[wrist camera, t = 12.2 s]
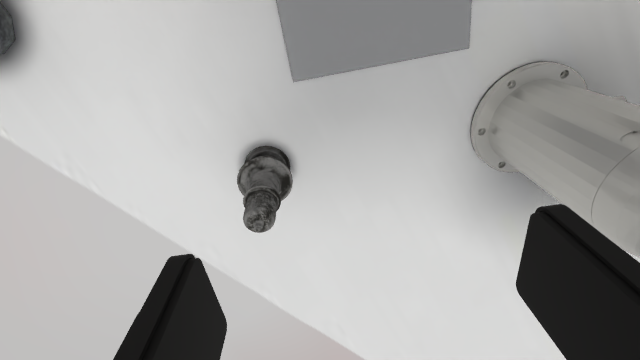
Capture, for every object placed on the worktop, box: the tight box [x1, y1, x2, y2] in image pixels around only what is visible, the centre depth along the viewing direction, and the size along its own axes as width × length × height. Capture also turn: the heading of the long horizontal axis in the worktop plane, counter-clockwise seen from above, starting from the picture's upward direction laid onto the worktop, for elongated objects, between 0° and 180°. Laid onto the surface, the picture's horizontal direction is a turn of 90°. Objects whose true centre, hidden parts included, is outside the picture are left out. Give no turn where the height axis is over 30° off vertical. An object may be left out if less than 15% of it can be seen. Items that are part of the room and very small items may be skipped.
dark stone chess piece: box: [237, 146, 293, 233], centre depth 33 cm, size 6×6×12 cm
